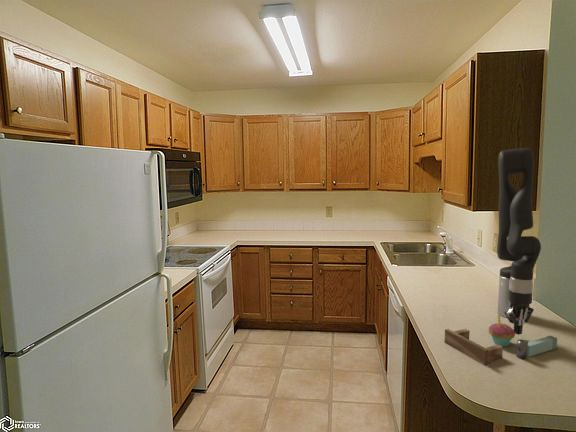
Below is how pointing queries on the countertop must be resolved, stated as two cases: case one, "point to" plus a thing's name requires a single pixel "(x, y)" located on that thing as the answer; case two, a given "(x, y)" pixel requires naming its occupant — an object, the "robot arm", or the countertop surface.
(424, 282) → the countertop surface
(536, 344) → the bar
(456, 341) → the wooden u-shaped bracket
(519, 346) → the post
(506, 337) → the cupcake
